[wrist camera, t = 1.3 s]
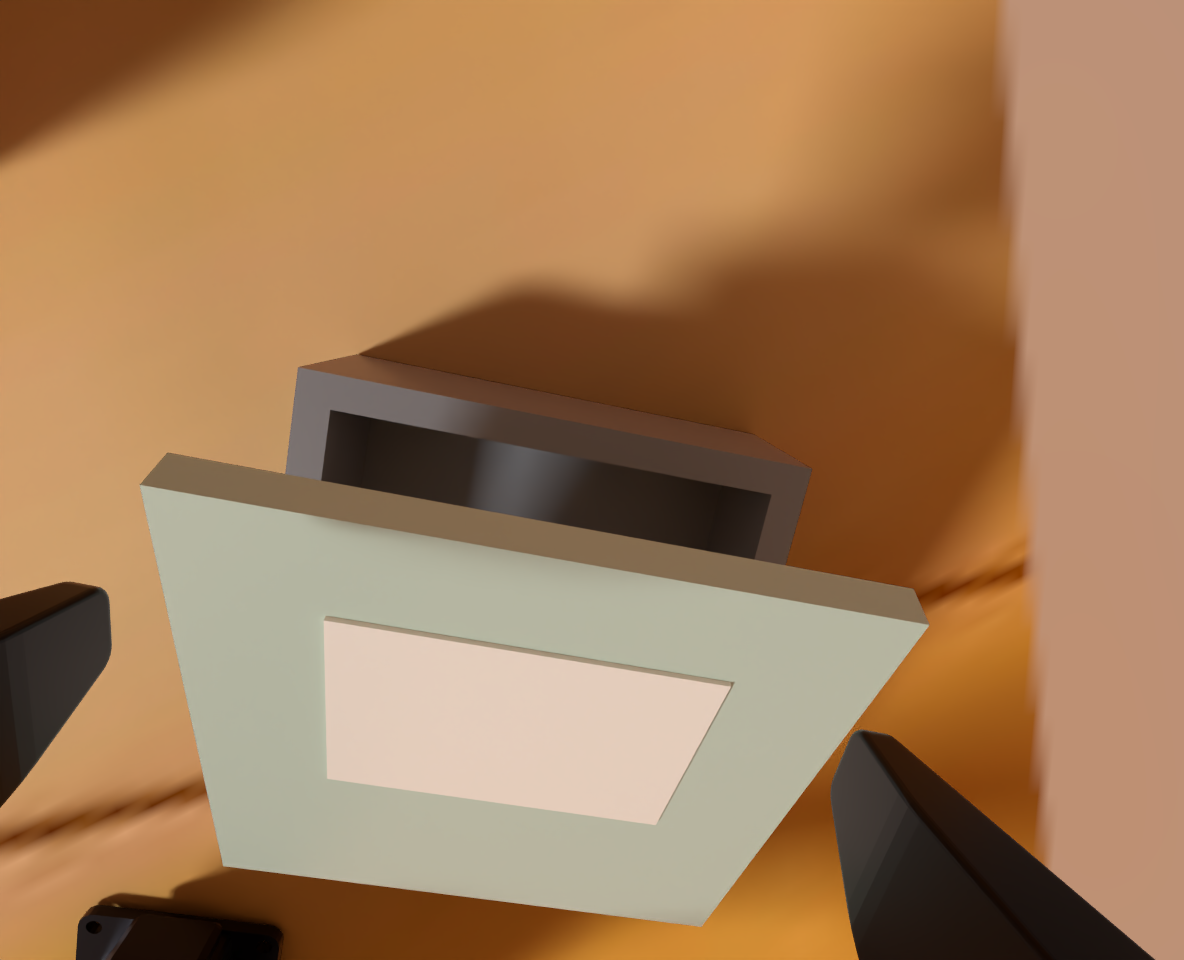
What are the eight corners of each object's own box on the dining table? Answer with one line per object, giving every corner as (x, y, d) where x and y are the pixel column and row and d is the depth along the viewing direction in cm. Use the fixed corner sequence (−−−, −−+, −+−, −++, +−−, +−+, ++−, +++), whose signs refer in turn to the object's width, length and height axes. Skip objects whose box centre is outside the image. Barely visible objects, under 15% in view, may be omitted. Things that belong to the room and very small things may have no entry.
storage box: (665, 776, 24) (694, 890, 20) (306, 723, 23) (242, 831, 18) (754, 434, 22) (812, 469, 17) (356, 354, 21) (298, 367, 16)
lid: (698, 894, 20) (701, 930, 19) (237, 833, 18) (221, 870, 18) (913, 589, 12) (930, 629, 12) (167, 452, 11) (136, 489, 10)
